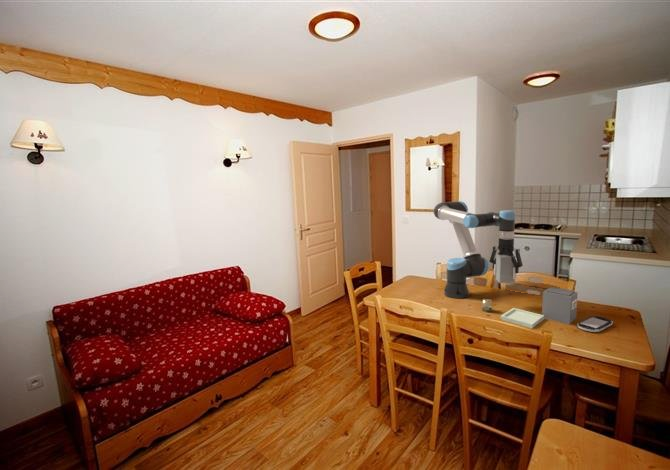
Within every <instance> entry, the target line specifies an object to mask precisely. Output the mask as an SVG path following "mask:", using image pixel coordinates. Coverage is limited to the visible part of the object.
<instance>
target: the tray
mask: <svg viewBox="0 0 670 470" xmlns="http://www.w3.org/2000/svg"><path fill="white" fill-rule="evenodd" d="M500 320H501V321H504V322H508V323H512V324H515V325H518V326H521V327H522V326H523V327H526V328H530V329H533V328H534V327H536V326H537V325H539V324H540V323H541V322H542V321H543V320H545V318H544V315H542V314H539V313H536V312H531V311H527V310H524V309H519V308H515V307H513V308H511V309H510V310H507V311H506V312H504V313H503V314H501V315H500Z"/></svg>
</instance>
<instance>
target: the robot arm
mask: <svg viewBox="0 0 670 470" xmlns="http://www.w3.org/2000/svg"><path fill="white" fill-rule="evenodd" d="M433 214H434V217H435V218H436V219H438V220H441V221H444V220H445V221H449V223H450V224H451V225H452V226H453V229H454V232H455V234H456V238H457V241H458V244H459V246H460V249H461V252H462V254H463V257H453V258H450V259H448V260H447V262H446V284H445V286H444V290H443V292H444V293H443V294H444V296H446V297H448V298H453V299H465V298H468V297H469V296H470V291H469V288H468V285H467V279H468V278H474V277H475V278H476V277H482V276H485V275H486V274H487V273H488V270H489V263H491V264H492V269H493V276H496V254H498V255H501V254H505V255H508V256H511V260H512V262H513V264H514V266H515V267H514V268H513V279H515V280H516V279H517V278H518V277H517V276H518V275H517V274H519V268H522V267H523V265H524V264H523V262H522V257H521V250H520V248H515V247H514V246H515V239H514V238H515V226H516V225H515V223H516V222H515V220H516V213H515V211H514V210H512V209H511V210H510V209H509V210H508V209H505V210H500V211H499V213H498V212H493V211H487V212H484V213H471V212H469V208H468V205H467V204H466V203H465V202H464V201H462V200H460V201H459V200H455V201H445V202H444V201H443V202H440V203H437V204H436V205H435V206H434V209H433ZM482 227H484V228H485V227H498V246H496V245H494V246H492V251H491V256H490V258H489V262H488V260H487V259H486V257H482V255H481V253H480V252H478V251H477V247H476V245H475V243H474V240H473V236H472V234H471V231H470V229H474V228H475V229H476V228H482ZM497 251H499V252H498V253H497ZM514 254H515V255H514ZM512 256H515V259H514V258H513V257H512Z"/></svg>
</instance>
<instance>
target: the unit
mask: <svg viewBox="0 0 670 470" xmlns="http://www.w3.org/2000/svg"><path fill="white" fill-rule="evenodd" d="M541 305H542V306H541V307H542V308H541V309H542V310H541V311H542V312H541V315H544V319H546V320H551V321H555V322H558V323H563V324H566V325H570V324H572V322H574V321H575V320H576V319H577V310H578V291H575V290H571V289H567V288H560V287H556V286H550V287H548V288H546V289H545V290H544V291H542V304H541Z"/></svg>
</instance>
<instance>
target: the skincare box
mask: <svg viewBox="0 0 670 470" xmlns="http://www.w3.org/2000/svg"><path fill="white" fill-rule="evenodd" d="M512 257H513V258H514V259H516V255H514V256H512ZM495 258H496V275H495V281H497V282H498V283H499V284H509V283H516V282H515V281H516V279H513V268H514V267H515V266H514V264H513V262H512V260H511V256H508V255H505V254H501V255H498V253H496V255H495Z"/></svg>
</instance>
